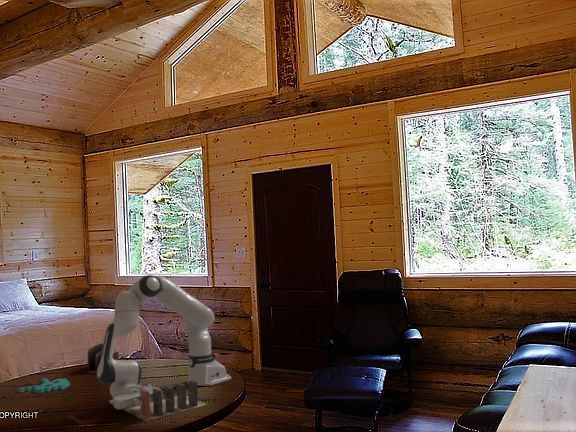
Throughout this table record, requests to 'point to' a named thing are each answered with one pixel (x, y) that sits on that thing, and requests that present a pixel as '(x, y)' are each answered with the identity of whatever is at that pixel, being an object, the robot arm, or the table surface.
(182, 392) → the domino
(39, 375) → the table surface
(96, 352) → the letter holder
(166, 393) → the domino
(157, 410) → the domino
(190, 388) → the domino
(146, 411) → the red domino
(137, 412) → the birch board
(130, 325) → the robot arm
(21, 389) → the alien figure
